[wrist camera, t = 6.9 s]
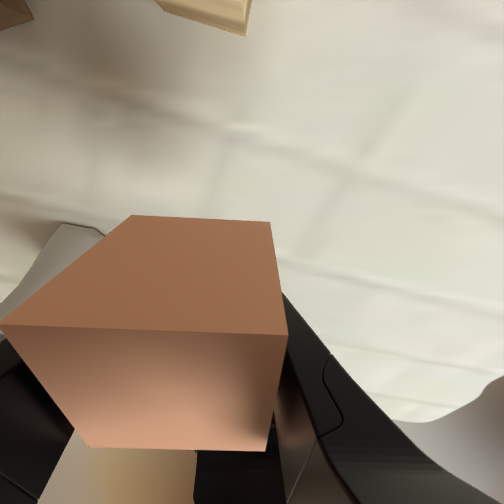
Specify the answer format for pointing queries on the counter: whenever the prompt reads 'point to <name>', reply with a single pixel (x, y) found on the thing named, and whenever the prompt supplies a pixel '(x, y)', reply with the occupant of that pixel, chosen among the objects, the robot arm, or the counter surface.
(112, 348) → the terracotta block
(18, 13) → the walnut block
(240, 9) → the maple block
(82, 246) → the flask
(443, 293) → the counter surface
